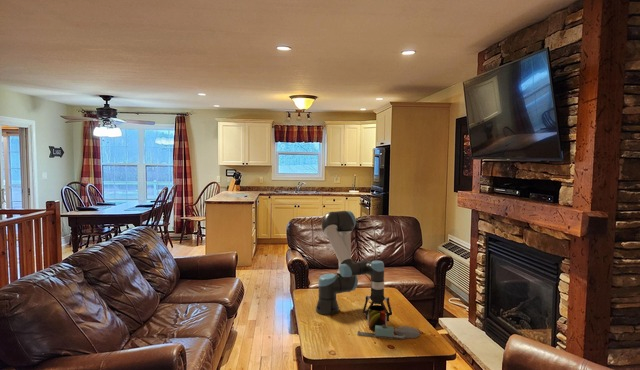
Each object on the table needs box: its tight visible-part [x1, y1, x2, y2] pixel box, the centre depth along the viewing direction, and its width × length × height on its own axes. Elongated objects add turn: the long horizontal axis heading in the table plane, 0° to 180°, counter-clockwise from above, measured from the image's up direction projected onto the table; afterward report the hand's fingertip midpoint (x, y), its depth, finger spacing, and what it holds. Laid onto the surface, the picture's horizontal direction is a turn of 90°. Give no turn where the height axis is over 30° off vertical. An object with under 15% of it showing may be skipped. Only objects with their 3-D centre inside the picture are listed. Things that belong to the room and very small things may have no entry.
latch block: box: [374, 325, 395, 337], centre depth 208 cm, size 4×10×5 cm, turn 77°
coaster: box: [394, 325, 421, 339], centre depth 213 cm, size 14×14×1 cm
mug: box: [368, 304, 387, 333], centre depth 221 cm, size 10×14×12 cm
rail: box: [357, 330, 406, 341], centre depth 209 cm, size 2×26×2 cm, turn 77°
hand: (377, 325), depth 220 cm, fingers closed on mug, 10 cm apart
